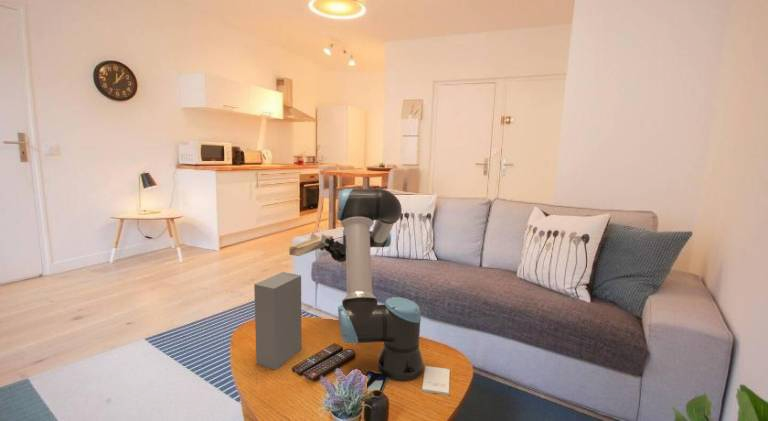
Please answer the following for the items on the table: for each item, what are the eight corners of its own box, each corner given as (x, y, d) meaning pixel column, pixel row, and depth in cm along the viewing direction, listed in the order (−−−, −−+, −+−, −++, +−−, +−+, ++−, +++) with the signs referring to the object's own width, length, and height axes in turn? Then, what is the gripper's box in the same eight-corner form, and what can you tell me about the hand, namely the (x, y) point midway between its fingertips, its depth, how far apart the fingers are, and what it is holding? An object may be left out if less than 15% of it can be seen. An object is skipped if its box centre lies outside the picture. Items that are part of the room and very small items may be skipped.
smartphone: (351, 400, 108) (367, 370, 122) (351, 403, 108) (367, 372, 122) (376, 405, 106) (389, 374, 120) (376, 408, 106) (389, 376, 121)
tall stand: (301, 349, 134) (301, 275, 130) (275, 370, 122) (273, 288, 117) (283, 344, 138) (282, 271, 133) (256, 363, 125) (254, 284, 120)
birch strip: (332, 243, 149) (332, 235, 148) (298, 256, 129) (298, 247, 128) (324, 241, 150) (324, 234, 150) (289, 254, 130) (289, 246, 130)
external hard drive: (449, 373, 124) (448, 397, 112) (424, 370, 125) (421, 393, 113) (449, 369, 124) (449, 392, 112) (425, 365, 125) (421, 388, 113)
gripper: (357, 265, 156) (331, 249, 136) (323, 259, 163) (293, 243, 143) (362, 248, 158) (337, 229, 138) (327, 243, 165) (299, 224, 145)
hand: (315, 236), depth 141 cm, fingers closed on birch strip, 4 cm apart
